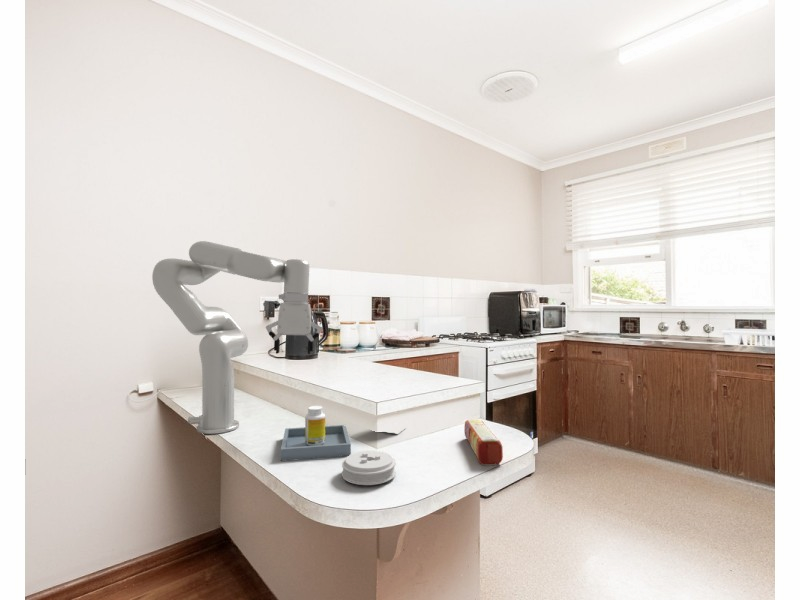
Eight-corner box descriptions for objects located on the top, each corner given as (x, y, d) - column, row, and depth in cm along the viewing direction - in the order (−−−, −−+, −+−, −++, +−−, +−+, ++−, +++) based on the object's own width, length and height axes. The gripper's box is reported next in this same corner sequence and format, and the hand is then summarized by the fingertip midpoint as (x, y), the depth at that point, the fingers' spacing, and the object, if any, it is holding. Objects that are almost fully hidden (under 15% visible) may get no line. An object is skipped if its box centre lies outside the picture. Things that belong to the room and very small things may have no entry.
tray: (280, 461, 105) (280, 449, 105) (285, 438, 123) (285, 428, 123) (350, 455, 109) (350, 444, 109) (345, 434, 127) (345, 424, 127)
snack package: (463, 438, 123) (463, 416, 123) (485, 438, 123) (485, 416, 123) (477, 466, 102) (477, 439, 102) (503, 466, 102) (503, 439, 102)
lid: (406, 480, 94) (406, 458, 94) (357, 494, 87) (357, 471, 87) (378, 462, 105) (378, 443, 105) (333, 473, 98) (333, 453, 98)
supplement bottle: (329, 443, 116) (329, 407, 116) (311, 448, 112) (311, 411, 112) (318, 438, 120) (318, 403, 120) (301, 443, 116) (301, 407, 116)
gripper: (265, 297, 123) (262, 354, 123) (323, 300, 126) (321, 355, 126) (269, 297, 130) (266, 351, 130) (323, 300, 133) (321, 352, 133)
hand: (293, 353), depth 128 cm, fingers open, 9 cm apart
